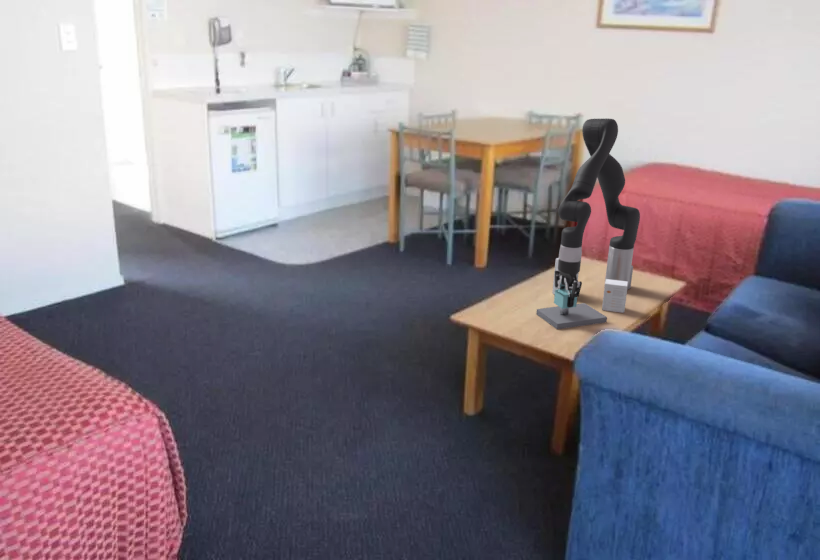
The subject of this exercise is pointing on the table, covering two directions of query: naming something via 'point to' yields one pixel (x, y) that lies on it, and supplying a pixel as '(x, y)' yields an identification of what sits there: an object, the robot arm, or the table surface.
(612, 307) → the small box
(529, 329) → the table surface
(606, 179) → the robot arm
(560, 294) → the teal cube
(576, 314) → the board
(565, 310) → the post
